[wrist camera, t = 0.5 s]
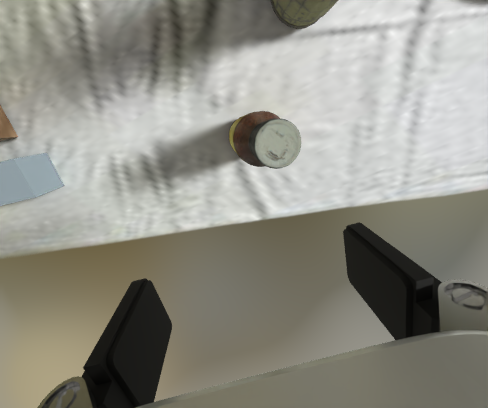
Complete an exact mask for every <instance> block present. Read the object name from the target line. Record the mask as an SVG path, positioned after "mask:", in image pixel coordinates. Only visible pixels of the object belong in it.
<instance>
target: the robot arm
mask: <svg viewBox="0 0 488 408" xmlns="http://www.w3.org/2000/svg"><path fill="white" fill-rule="evenodd" d="M343 233H344V244H345V254H346V263H347V274H348V278H349V281H350V283H351V284H352V285H353V286H354V288H355V289H356V290H357V292H358V293H359V294H360V295H361V297H362V298H363V299H364V300H365V302H366V303H367V304H368V306H369V307H370V308H371V309H372V310H373V312H374V313H375V314H376V316H377V317H378V318H379V320H380V321H381V322H382V323H383V324H384V326H385V327H386V328H387V330H388V331H389V332H390V334H391V335H392V336H393V337H394V339H395V341H391V342H387V343H382V344H378V345H374V346H369V347H365V348H361V349H358V350H353V351H349V352H345V353H342V354H337V355H333V356H330V357H326V358H322V359H318V360H314V361H310V362H306V363H302V364H298V365H294V366H290V367H286V368H283V369H278V370H275V371H271V372H267V373H263V374H259V375H255V376H251V377H247V378H244V379H240V380H236V381H232V382H228V383H224V384H220V385H217V386H213V387H209V388H205V389H202V390H198V391H194V392H190V393H187V394H183V395H179V396H175V397H172V398H168V399H164V400H160V401H156V402H154V399H155V395H156V391H157V386H158V382H159V379H160V375H161V370H162V366H163V362H164V358H165V354H166V350H167V346H168V342H169V338H170V334H171V330H172V323H171V320H170V319H169V316H168V314H167V312H166V310H165V308H164V306H163V304H162V302H161V300H160V298H159V296H158V294H157V292H156V290H155V288H154V286H153V283H152V282H151V281H150V280H149V281H148V280H147V279H141V280H137V281H133V282H132V283H131V285H130V286H129V288H128V290H127V292H126V294H125V295H124V297H123V299H122V300H121V302H120V304H119V306H118V307H117V309H116V311H115V313H114V315H113V316H112V318H111V320H110V322H109V323H108V325H107V327H106V328H105V330H104V332H103V334H102V336H101V337H100V339H99V341H98V343H97V344H96V346H95V348H94V350H93V351H92V353H91V355H90V357H89V358H88V360H87V362H86V364H85V366H84V367H83V368H84V370H85V371H84V373H83V375H82V377H72V378H70V379H68V380H66V381H64V382H63V383H61V384H59V385H58V386H57V387H56V388H55V389H54V390H52V391H51V392H50V393H49V394H48V395H47V396H46V397H45V399H43V401H42V402H41V403H40V405H39V406H38V408H488V288H486V287H485V286H482V285H480V284H477V283H475V282H470V281H466V280H458V279H454V280H447V281H444V282H440V281H439V280H438V279H436V278H435V277H434V276H432V275H431V274H429V273H428V272H427V271H425V270H424V269H423V268H422V267H420V266H419V265H418V264H416V263H415V262H413V261H412V260H411V259H409V258H408V257H407V256H405V255H404V254H403V253H401V252H400V251H398V250H397V249H396V248H395V247H393V246H391V245H390V244H389V243H387V242H386V241H384V240H383V239H382V238H381V237H379V236H378V235H376V234H375V233H374V232H372V231H371V230H370V229H368V228H367V227H365V226H364V225H363V224H362V223H356V224H351V225H348V226H347V227H346V229H345V230H344V231H343Z"/></svg>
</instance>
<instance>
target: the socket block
mask: <svg viewBox="0 0 488 408" xmlns="http://www.w3.org/2000/svg"><path fill="white" fill-rule="evenodd" d="M63 186H64V185H63V183H62V181H61V179H60V177H59V175H58V173H57V171H56V169H55V168H54V166H53V164H52V162H51V160H50V158H49V156H48V154H47V153H43V154H38V155H32V156H26V157H21V158H15V159H11V160H7V161H2V162H0V206H2V205H6V204H10V203H14V202H18V201H23V200H27V199H31V198H35V197H38V196H40V195H43V194H45V193H48V192H50V191H53V190H55V189H58V188H60V187H63Z"/></svg>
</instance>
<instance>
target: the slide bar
mask: <svg viewBox="0 0 488 408" xmlns="http://www.w3.org/2000/svg"><path fill="white" fill-rule="evenodd" d="M15 137H18V136H17V134H16V132H15V131H14V129H13V127H12V125H11V123H10V122H9V120H8V118H7V116H6V115H5V113H4V111H3V109H2V107H1V106H0V141H3V140H7V139H11V138H15Z"/></svg>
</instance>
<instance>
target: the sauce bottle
mask: <svg viewBox="0 0 488 408" xmlns="http://www.w3.org/2000/svg"><path fill="white" fill-rule="evenodd" d="M229 140H230V144H231V146H232V148H233V149H234V151H235V152H236V153H237V154H238V156H239V157H240V158H241V159H242V160H244V161H245V162H246V163H248V164H250V165H253V166H257V167H263V166H267V167H270V168H276V169H277V168H282V167H285V166H288V165H289V164H291V163H292V162H293V161H294V160H295V159H296V157H297V156H298V153H299V152H300V148H301V137H300V133H299V130H298V129H297V128H296V126H295V125H294V124H292V123H291V122H289V121H287V120H285V119H280V118H279V117H278V116H277V115H275V114H273V113H270V112H265V111H260V112H252V113H249V114H247V115H245V116H242V117H240V118H239V119H237V120H236V121H235V122H234V123H233V124H232V126H231V128H230V131H229Z"/></svg>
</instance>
